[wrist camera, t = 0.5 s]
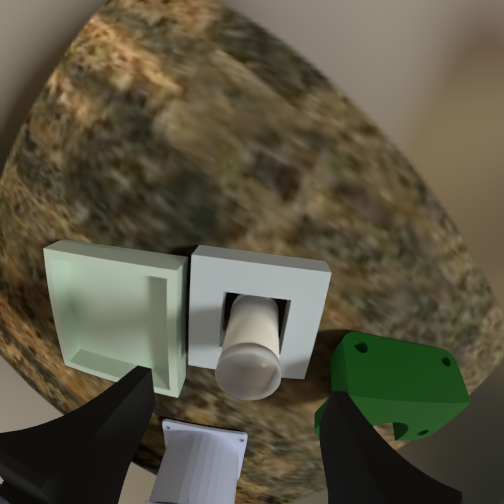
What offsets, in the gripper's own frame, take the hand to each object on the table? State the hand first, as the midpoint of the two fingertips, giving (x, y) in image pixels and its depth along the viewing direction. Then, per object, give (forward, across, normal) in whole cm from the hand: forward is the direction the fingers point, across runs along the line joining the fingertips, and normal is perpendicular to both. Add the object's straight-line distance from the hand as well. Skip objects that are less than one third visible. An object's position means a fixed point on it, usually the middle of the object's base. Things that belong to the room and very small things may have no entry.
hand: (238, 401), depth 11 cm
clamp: (+10, -11, +6) cm, 16 cm away
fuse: (+9, 0, +1) cm, 9 cm away
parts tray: (+9, +10, +3) cm, 14 cm away
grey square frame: (+9, 0, +1) cm, 9 cm away
